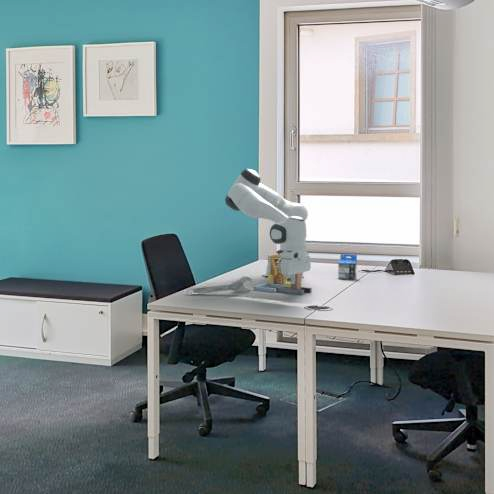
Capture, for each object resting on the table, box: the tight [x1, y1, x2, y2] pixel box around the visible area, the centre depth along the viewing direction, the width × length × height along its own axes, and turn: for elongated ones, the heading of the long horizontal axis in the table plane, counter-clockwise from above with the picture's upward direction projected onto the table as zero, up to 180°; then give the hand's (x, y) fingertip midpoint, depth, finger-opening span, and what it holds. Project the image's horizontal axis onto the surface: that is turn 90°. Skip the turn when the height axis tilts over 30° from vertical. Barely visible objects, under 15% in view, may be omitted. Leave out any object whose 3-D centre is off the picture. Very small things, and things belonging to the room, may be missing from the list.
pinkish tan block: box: [292, 273, 302, 290], centre depth 321 cm, size 3×4×10 cm
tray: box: [252, 282, 284, 293], centre depth 329 cm, size 11×12×3 cm
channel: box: [275, 286, 313, 296], centre depth 322 cm, size 14×10×4 cm
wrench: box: [186, 276, 253, 294], centre depth 325 cm, size 8×2×30 cm
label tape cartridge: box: [337, 253, 358, 280], centre depth 368 cm, size 9×4×12 cm, turn 68°
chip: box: [283, 281, 292, 289], centre depth 323 cm, size 4×4×4 cm
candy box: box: [267, 253, 288, 285], centre depth 345 cm, size 9×4×15 cm, turn 110°
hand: (296, 283), depth 321 cm, fingers closed on pinkish tan block, 3 cm apart
